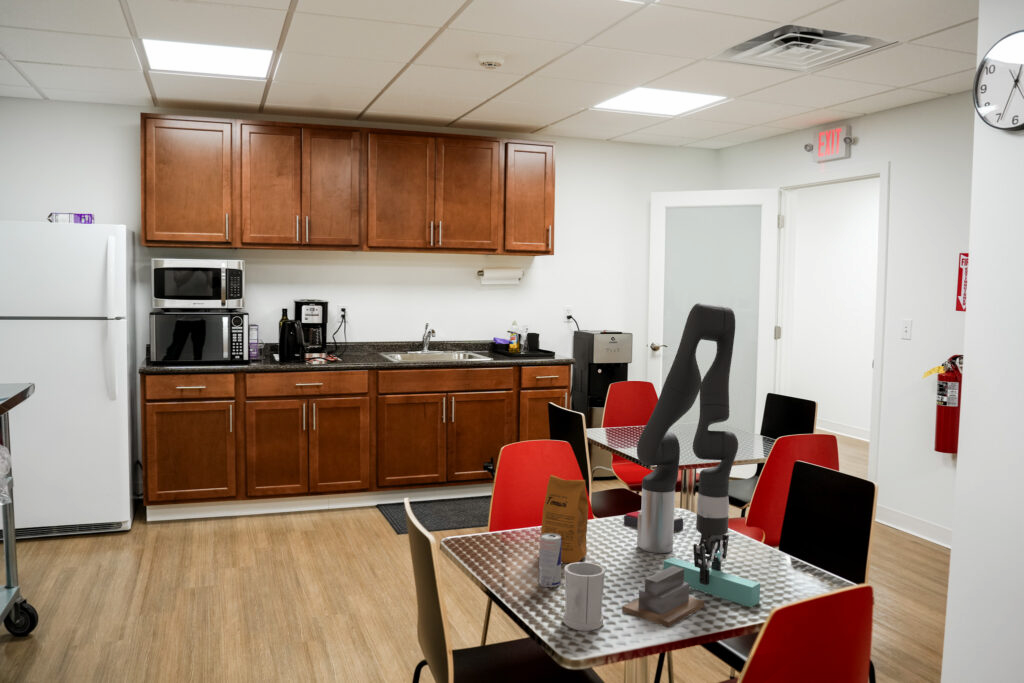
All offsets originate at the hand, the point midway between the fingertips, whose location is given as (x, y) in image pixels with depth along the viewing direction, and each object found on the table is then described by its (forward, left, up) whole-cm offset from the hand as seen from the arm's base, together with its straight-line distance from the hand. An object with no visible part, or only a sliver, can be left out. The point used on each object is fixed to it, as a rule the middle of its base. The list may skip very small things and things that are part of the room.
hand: (709, 580), depth 188 cm
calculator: (-38, +36, -3) cm, 53 cm away
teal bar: (0, 0, -3) cm, 3 cm away
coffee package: (-40, -7, -3) cm, 41 cm away
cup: (-10, -38, -3) cm, 39 cm away
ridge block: (-2, -18, -2) cm, 18 cm away
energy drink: (-30, -25, -3) cm, 39 cm away
